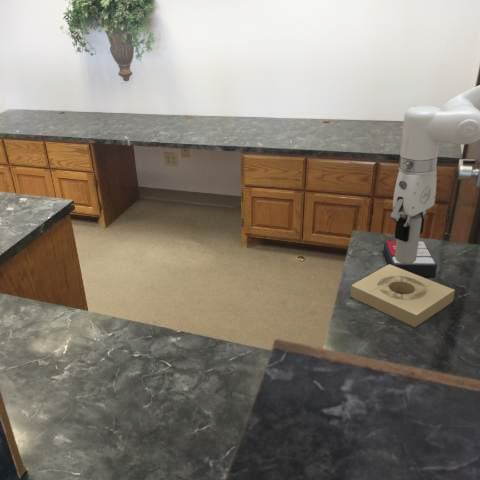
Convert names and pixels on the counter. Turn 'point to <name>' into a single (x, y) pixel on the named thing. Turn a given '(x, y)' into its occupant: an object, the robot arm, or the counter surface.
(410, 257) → the beverage can
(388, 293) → the socket pad
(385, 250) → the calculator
